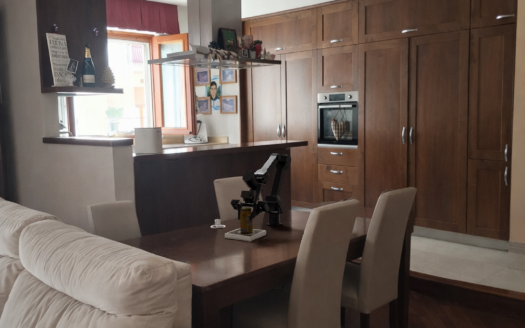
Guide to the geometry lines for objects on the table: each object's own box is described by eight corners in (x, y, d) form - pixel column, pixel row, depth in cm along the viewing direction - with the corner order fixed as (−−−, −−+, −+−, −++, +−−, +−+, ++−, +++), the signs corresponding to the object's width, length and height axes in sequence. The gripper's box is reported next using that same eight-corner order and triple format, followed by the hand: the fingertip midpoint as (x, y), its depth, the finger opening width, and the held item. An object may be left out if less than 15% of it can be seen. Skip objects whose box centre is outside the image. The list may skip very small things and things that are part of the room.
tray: (241, 231, 256) (241, 227, 256) (266, 234, 249) (266, 230, 249) (224, 238, 244) (224, 233, 244) (250, 241, 236) (250, 236, 236)
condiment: (252, 230, 251) (251, 206, 250) (255, 234, 243) (254, 209, 241) (238, 231, 250) (237, 207, 249) (240, 235, 241) (239, 210, 240)
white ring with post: (222, 229, 265) (222, 221, 264) (208, 229, 266) (207, 221, 266) (227, 225, 273) (227, 218, 273) (213, 225, 275) (212, 218, 274)
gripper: (231, 183, 252) (220, 209, 243) (265, 184, 243) (255, 211, 235) (239, 196, 259) (229, 222, 251) (273, 198, 251) (263, 225, 243)
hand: (244, 219), depth 244 cm, fingers closed on condiment, 6 cm apart
